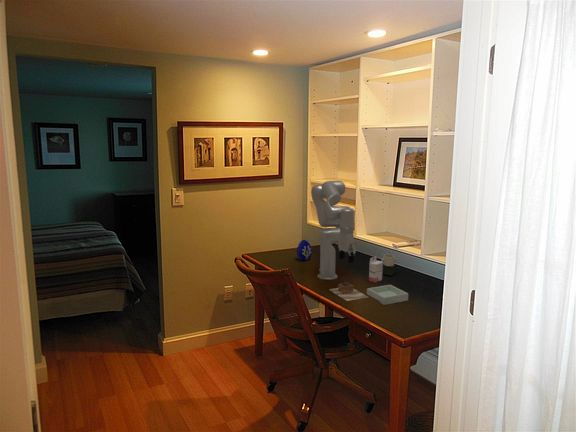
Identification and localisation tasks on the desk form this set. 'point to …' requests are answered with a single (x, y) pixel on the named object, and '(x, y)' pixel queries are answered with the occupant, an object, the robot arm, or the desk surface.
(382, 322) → the desk surface
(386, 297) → the tray
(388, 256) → the character mug
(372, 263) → the ink cartridge box
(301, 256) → the ornament
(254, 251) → the desk surface
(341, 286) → the tabbed ring
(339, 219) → the robot arm
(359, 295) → the stake board
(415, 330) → the desk surface
